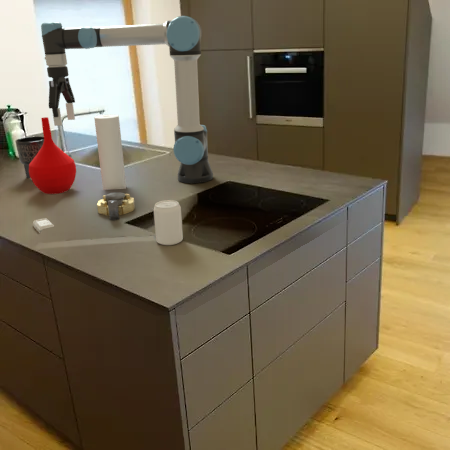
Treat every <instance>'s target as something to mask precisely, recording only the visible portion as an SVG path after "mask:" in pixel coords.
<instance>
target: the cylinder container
mask: <svg viewBox="0 0 450 450" xmlns="http://www.w3.org/2000/svg"><path fill="white" fill-rule="evenodd" d="M93 118H94V125H95V127H94V128H95V136H96V143H97V149H98V150H97V151H98V152H97V153H98V157H99V158H98V159H99V166H100V175H101V176H100V177H101V184H102V190H103V191H110V190H126V189H127V181H126V172H125V163H124V161H125V160H124V152H123V143H122V135H121V124H120V117H119V114H102V115H101V114H100V115H96V116H95V115H94V117H93Z"/></svg>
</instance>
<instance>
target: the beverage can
mask: <svg viewBox="0 0 450 450" xmlns="http://www.w3.org/2000/svg"><path fill="white" fill-rule="evenodd" d="M153 218H154V231H155V240H156V243H158V244H160V245H163V246H172V245H176V244H177V245H178V244H179V243H181V242H182V241H183V238H184V237H183V236H184V234H183V221H182V219H183V218H182V207H181V205H180V203H179V201H177V200H173V199H169V200H167V199H166V200H165V199H164V200H160V201H157V202H156V203H154V207H153Z"/></svg>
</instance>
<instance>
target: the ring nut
mask: <svg viewBox="0 0 450 450" xmlns="http://www.w3.org/2000/svg"><path fill="white" fill-rule="evenodd" d="M124 194H125V197H124V200H123V201H122V204H121V205H118V202H117V200H111V201H108V200H107V199H106V198H105V195H106V194H105V195H102V199H99V200H98V201H97V204H96V206H97V214H101V215H103V216H106V217H108V216H109V220H110V221H117V220H119V219H120V216H122V215H126V214H128V213H132V212H134V211H135V208H136V205H135V198H134V197H132V196H131V195H130V193H124Z"/></svg>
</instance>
